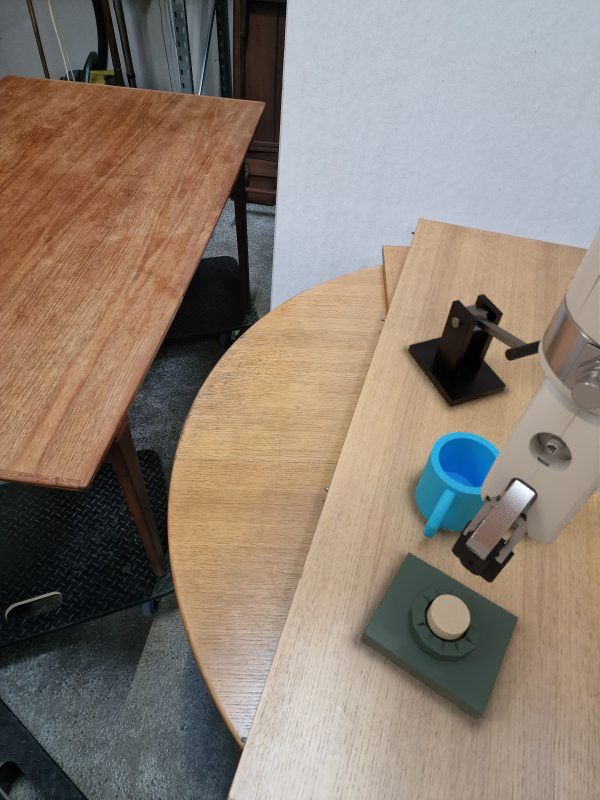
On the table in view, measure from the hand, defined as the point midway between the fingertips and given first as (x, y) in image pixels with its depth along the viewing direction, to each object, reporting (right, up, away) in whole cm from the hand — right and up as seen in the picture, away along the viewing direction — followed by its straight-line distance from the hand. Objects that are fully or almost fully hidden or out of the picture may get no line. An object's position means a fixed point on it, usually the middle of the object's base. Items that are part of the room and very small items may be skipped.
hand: (508, 520), depth 38 cm
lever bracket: (+8, +13, +39) cm, 42 cm away
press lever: (+10, +16, +28) cm, 34 cm away
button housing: (-1, -15, +14) cm, 20 cm away
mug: (+2, -4, +23) cm, 24 cm away
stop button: (-1, -12, +11) cm, 17 cm away
